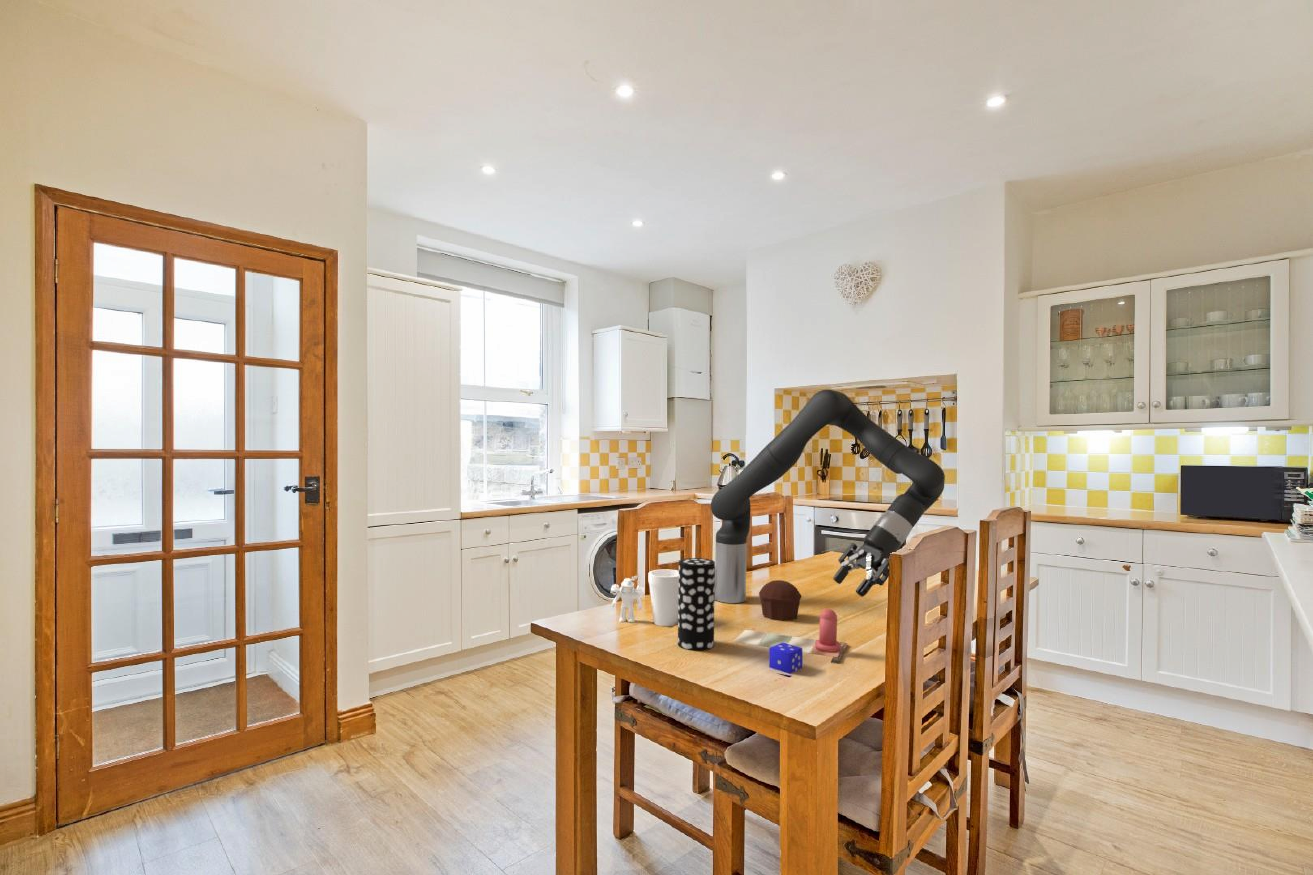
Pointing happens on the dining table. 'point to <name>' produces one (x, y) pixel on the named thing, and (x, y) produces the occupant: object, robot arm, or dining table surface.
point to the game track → (776, 639)
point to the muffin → (780, 600)
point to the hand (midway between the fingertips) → (847, 587)
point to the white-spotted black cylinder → (696, 604)
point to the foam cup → (664, 596)
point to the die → (785, 658)
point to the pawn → (828, 632)
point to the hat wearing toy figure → (627, 597)
